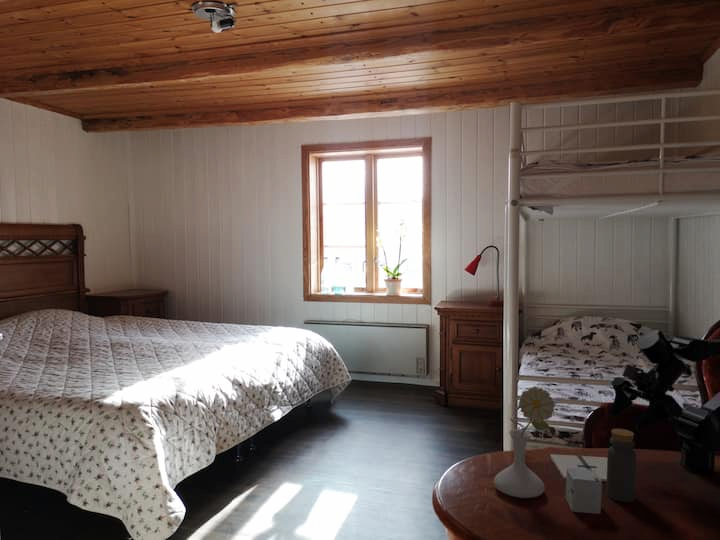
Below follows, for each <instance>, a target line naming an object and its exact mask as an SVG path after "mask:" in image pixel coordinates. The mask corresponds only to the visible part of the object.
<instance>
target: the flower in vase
mask: <svg viewBox="0 0 720 540" xmlns="http://www.w3.org/2000/svg"><path fill="white" fill-rule="evenodd" d="M521 393H522V394H521V395H520V396H521V397H520V398H519V402H518V408H520V412H521V413H523V414H522V416H523V417H524V418H527V419H529V422H528V423H527V424H526V425H525V426H524V425H523V424H522V423H520V422H517V421H515V420H513V419H512V418H511V417H509V418H510V421H511V422H512V423H514V424H516V425H518V426H520V427H522V428H524V429H511V430H509V432H508V433H509V435H510V437H511V438H512V440H513V446H514V459H513V463H512V464H511V465H510V466H508V467H506V468H504V469H503V470H501V471H499V472H498V473H497V474H496V475H495V477H494V479H493V484H494V486H495V487H496V489H497V490H498V491H499V492H501V493H503V494H504V495H505V494H506V495H508V496H511V497H515V498H521V499H531V498H537V497H540V496H541V495H542V494H543V493H544V492H545V490H546V488H545V484H544V482H543V480H542V479H541V478H540V477H539V476H538V475H537V474H536V473H535V472H533V471H532V470H531V469H530V468H529V467H528V465H526V456H525V455H526V449H527V448H526V447H527V443H528V440H530V438H531V437H532V436H533V435H532V432H530V431H527V429H528V427H529V426H530V425H532V427H533V428H534V429H535V430H536V431H546V430H549V429H551V426H550V425H549V424H548V423H547V422H546V421H547V420H549V419H550V418H553V413H554V412H555V407H556V405H555V401H554V400H553V396H550V395H551V394H550V392H548V391H547V390H546V389H545V390H544V389H543V387H542V388H541V387H537V386H533V387H531V388H530V387H529V388H528V389H527V390H524V391H522V392H521Z"/></svg>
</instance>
